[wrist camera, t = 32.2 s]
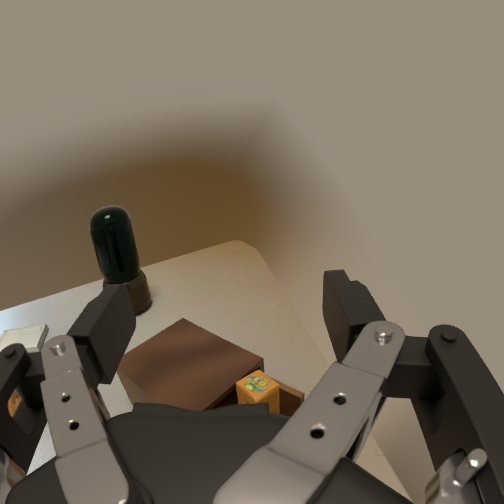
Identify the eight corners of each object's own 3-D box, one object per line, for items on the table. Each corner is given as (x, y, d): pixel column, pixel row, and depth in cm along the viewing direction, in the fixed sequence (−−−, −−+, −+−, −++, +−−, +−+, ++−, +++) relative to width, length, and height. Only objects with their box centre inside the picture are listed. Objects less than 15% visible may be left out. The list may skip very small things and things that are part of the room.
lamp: (129, 324, 58) (99, 217, 49) (102, 311, 63) (74, 214, 54) (161, 301, 66) (139, 200, 57) (133, 291, 70) (111, 199, 61)
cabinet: (266, 402, 40) (263, 358, 36) (201, 463, 31) (184, 425, 27) (193, 360, 48) (183, 317, 45) (132, 404, 40) (111, 361, 36)
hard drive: (46, 323, 56) (4, 329, 53) (36, 346, 49) (-8, 351, 46) (49, 329, 57) (7, 335, 54) (40, 352, 49) (-5, 357, 46)
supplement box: (283, 439, 32) (282, 384, 28) (259, 455, 30) (253, 403, 26) (264, 423, 34) (259, 366, 30) (241, 438, 32) (231, 383, 28)
